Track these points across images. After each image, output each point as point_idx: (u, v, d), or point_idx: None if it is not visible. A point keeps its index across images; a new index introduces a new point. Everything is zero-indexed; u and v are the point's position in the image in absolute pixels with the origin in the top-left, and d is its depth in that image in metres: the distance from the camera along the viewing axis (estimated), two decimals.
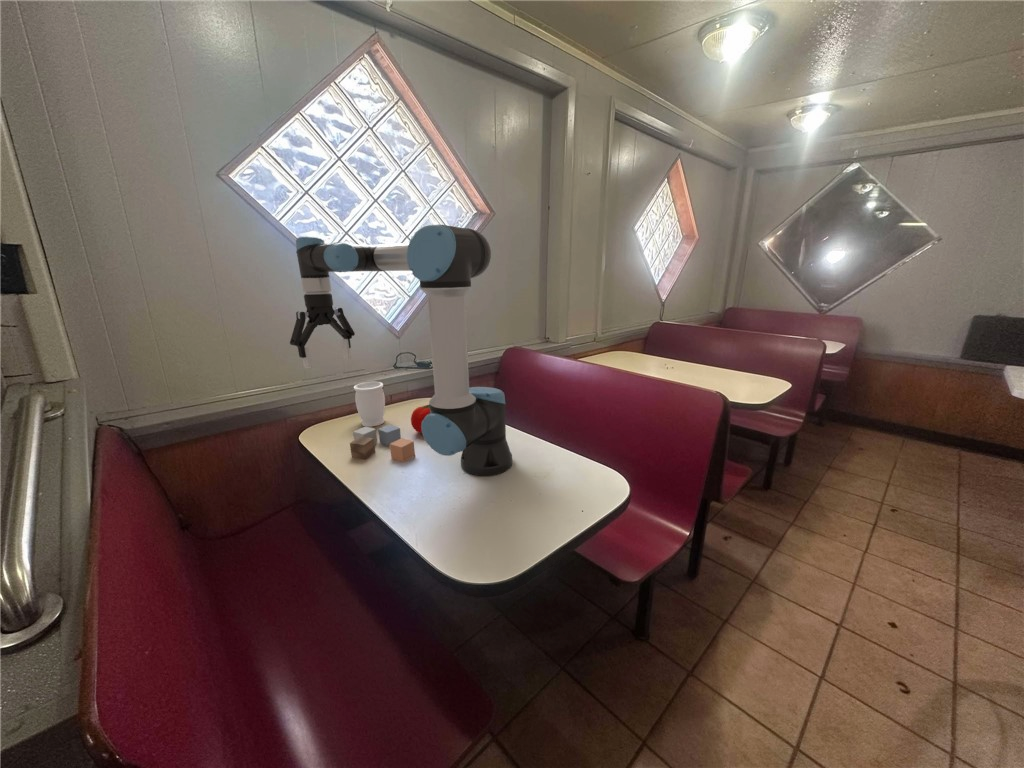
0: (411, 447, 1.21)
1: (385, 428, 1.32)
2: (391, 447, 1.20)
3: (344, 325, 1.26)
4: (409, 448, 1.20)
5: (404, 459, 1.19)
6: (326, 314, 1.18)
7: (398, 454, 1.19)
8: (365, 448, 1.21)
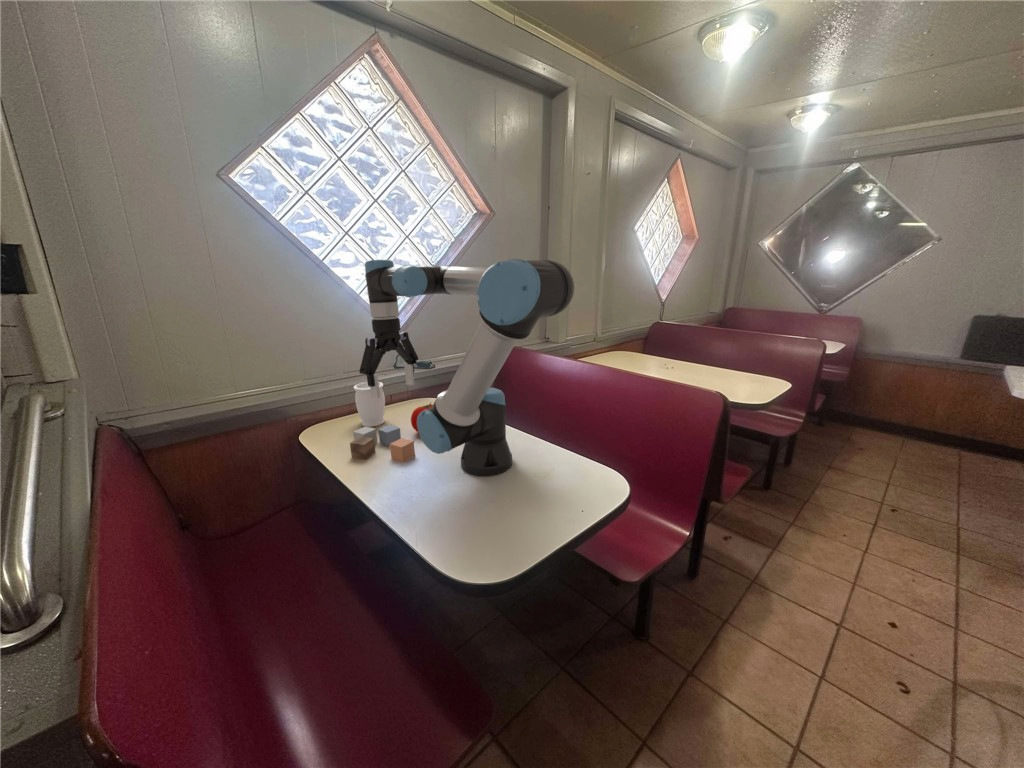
0: (411, 447, 1.21)
1: (385, 428, 1.32)
2: (391, 447, 1.20)
3: (408, 350, 1.19)
4: (409, 448, 1.20)
5: (404, 459, 1.19)
6: (394, 339, 1.12)
7: (398, 454, 1.19)
8: (365, 448, 1.21)
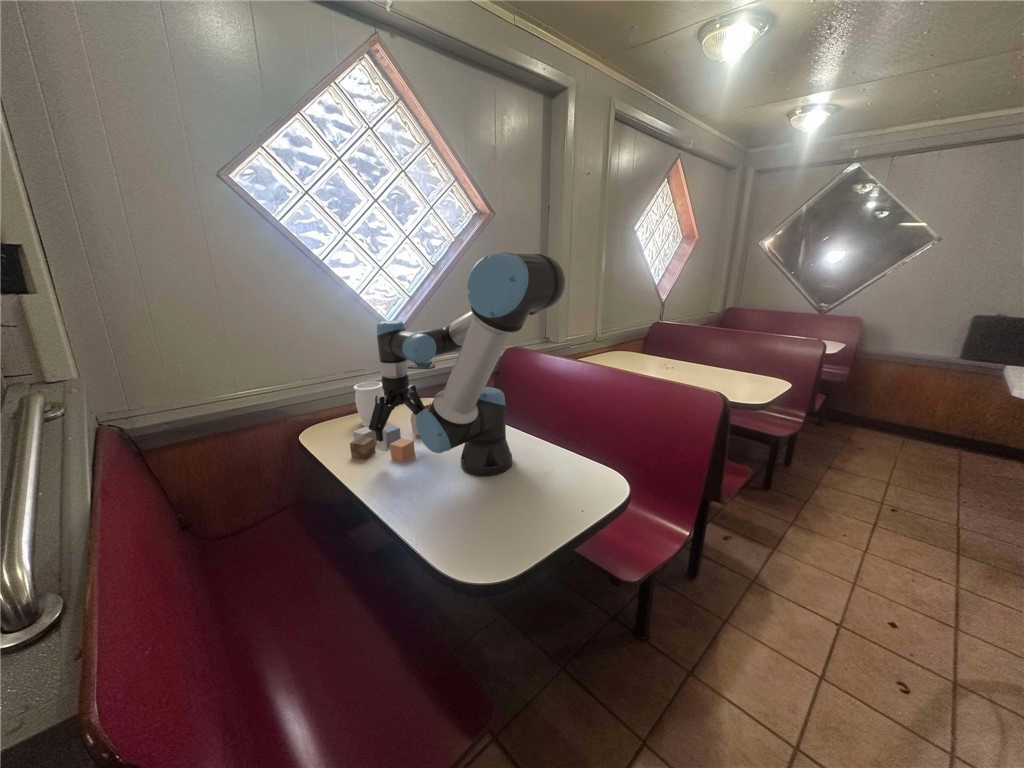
0: (411, 447, 1.21)
1: (385, 428, 1.32)
2: (391, 447, 1.20)
3: (415, 401, 1.24)
4: (409, 448, 1.20)
5: (404, 459, 1.19)
6: (402, 395, 1.16)
7: (398, 454, 1.19)
8: (365, 448, 1.21)
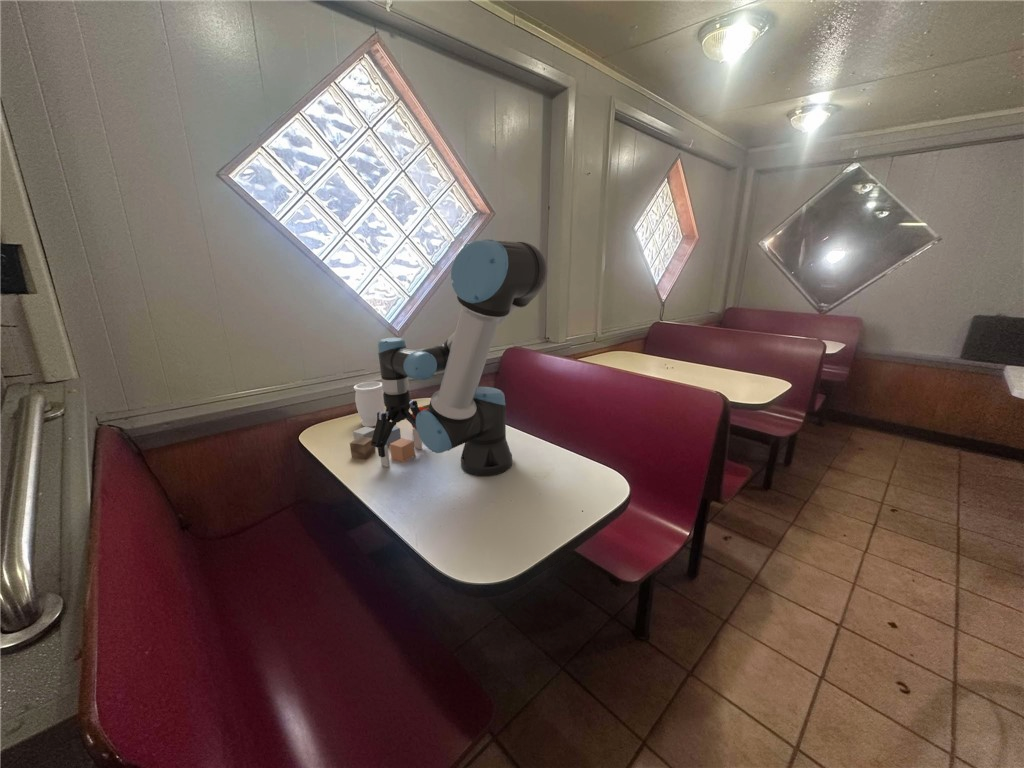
0: (411, 447, 1.21)
1: None
2: (391, 447, 1.20)
3: (417, 416, 1.25)
4: (409, 448, 1.20)
5: (404, 459, 1.19)
6: (403, 411, 1.18)
7: (398, 454, 1.19)
8: (365, 448, 1.21)
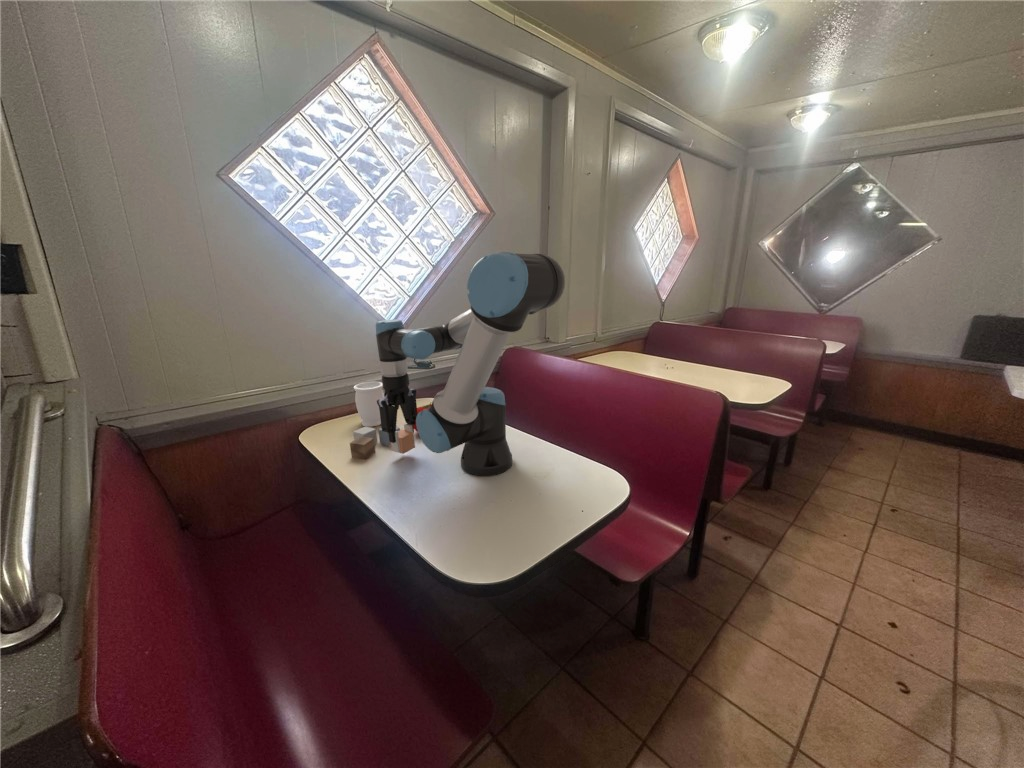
0: (411, 439, 1.20)
1: None
2: None
3: (411, 407, 1.22)
4: (409, 440, 1.19)
5: (404, 450, 1.18)
6: (403, 393, 1.16)
7: None
8: (365, 448, 1.21)
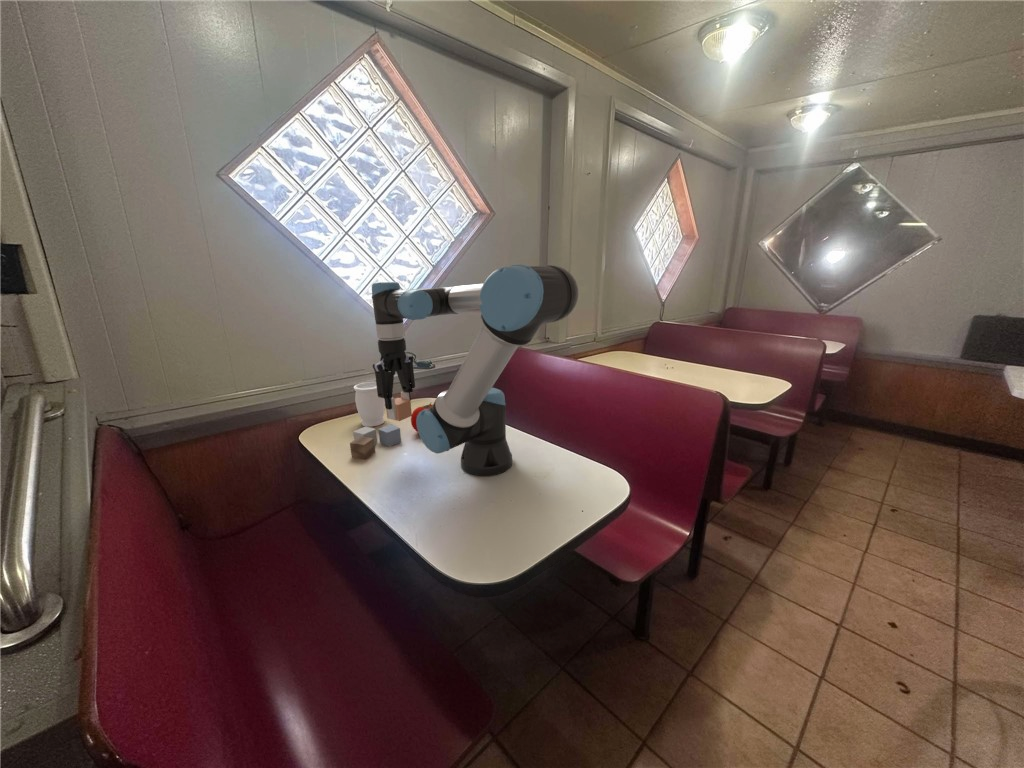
0: (407, 406, 1.17)
1: (385, 428, 1.32)
2: None
3: (408, 375, 1.19)
4: (405, 407, 1.16)
5: (400, 418, 1.15)
6: (399, 359, 1.13)
7: None
8: (365, 448, 1.21)
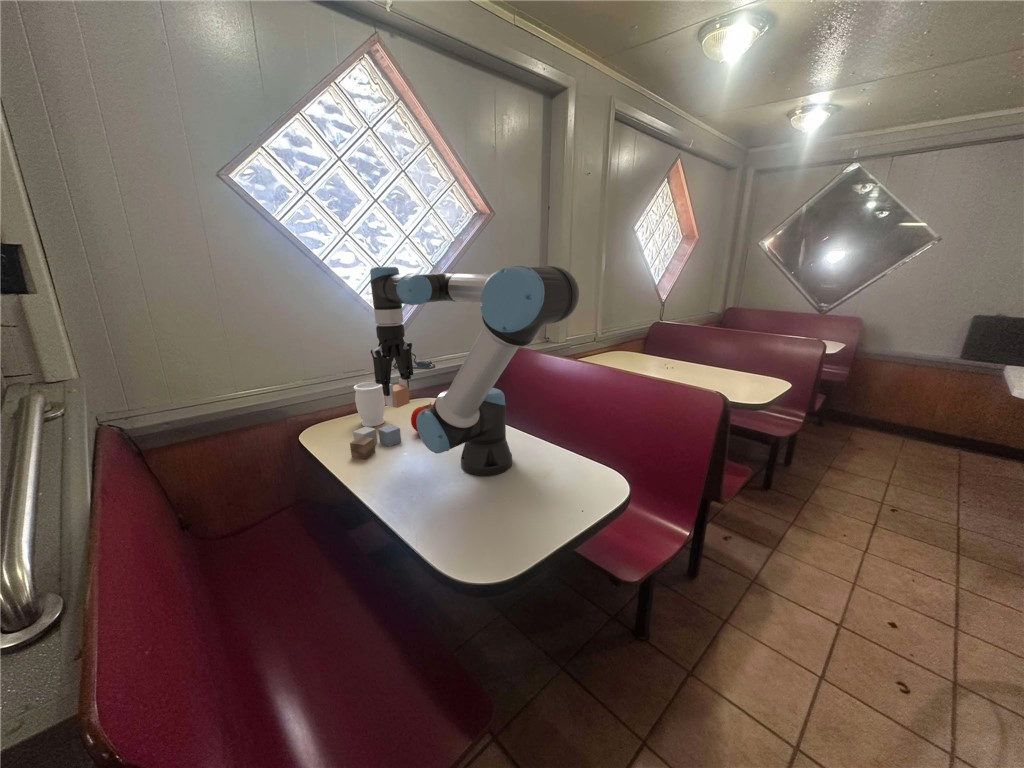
0: (405, 393, 1.16)
1: (385, 428, 1.32)
2: None
3: (407, 362, 1.18)
4: (403, 394, 1.16)
5: (398, 404, 1.14)
6: (398, 345, 1.12)
7: None
8: (365, 448, 1.21)
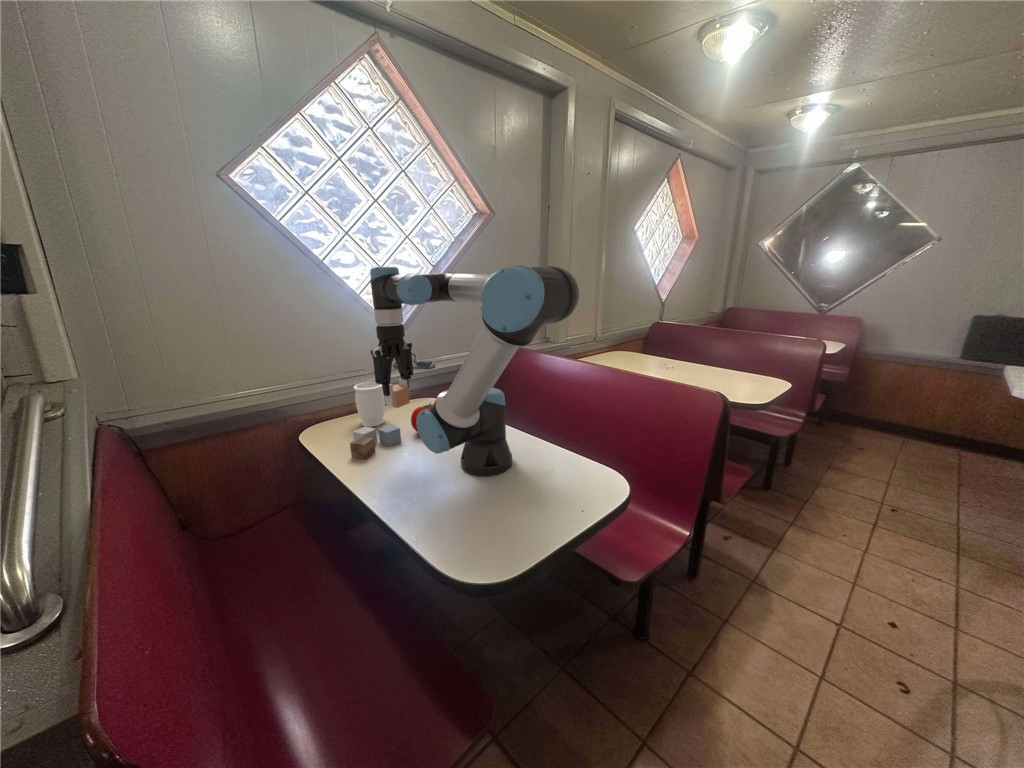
0: (405, 393, 1.16)
1: (385, 428, 1.32)
2: None
3: (407, 362, 1.18)
4: (403, 394, 1.16)
5: (398, 404, 1.14)
6: (398, 345, 1.12)
7: None
8: (365, 448, 1.21)
